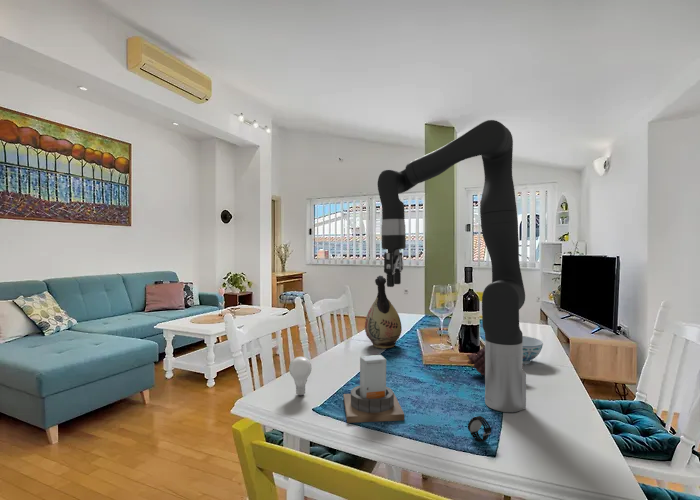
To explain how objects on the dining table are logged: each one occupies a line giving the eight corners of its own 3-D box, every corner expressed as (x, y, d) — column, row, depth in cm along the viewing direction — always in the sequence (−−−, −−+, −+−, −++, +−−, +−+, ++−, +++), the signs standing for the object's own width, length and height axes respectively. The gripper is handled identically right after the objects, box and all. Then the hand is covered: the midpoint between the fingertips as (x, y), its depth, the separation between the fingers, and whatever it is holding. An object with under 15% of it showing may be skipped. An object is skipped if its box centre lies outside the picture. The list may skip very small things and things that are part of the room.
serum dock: (393, 397, 108) (393, 381, 108) (404, 420, 94) (404, 401, 94) (343, 399, 107) (343, 383, 106) (347, 422, 93) (347, 404, 92)
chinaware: (498, 365, 135) (498, 343, 135) (497, 353, 149) (497, 334, 149) (546, 369, 130) (546, 347, 130) (539, 357, 144) (539, 336, 144)
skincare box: (364, 408, 97) (364, 360, 97) (359, 401, 101) (359, 356, 101) (386, 405, 99) (386, 358, 99) (381, 398, 103) (381, 354, 103)
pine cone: (525, 377, 123) (525, 346, 123) (520, 387, 114) (520, 354, 114) (469, 368, 132) (469, 339, 132) (461, 376, 124) (461, 345, 124)
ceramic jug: (364, 341, 170) (364, 273, 169) (399, 341, 169) (399, 273, 169) (364, 352, 153) (364, 276, 152) (403, 352, 152) (403, 276, 152)
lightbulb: (284, 397, 108) (284, 358, 108) (298, 389, 114) (297, 352, 114) (303, 401, 105) (303, 361, 105) (316, 393, 111) (315, 355, 111)
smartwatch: (483, 434, 86) (483, 412, 86) (492, 446, 81) (492, 423, 81) (465, 435, 86) (465, 413, 86) (473, 447, 81) (473, 423, 81)
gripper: (399, 233, 113) (400, 288, 113) (409, 234, 127) (410, 283, 127) (375, 233, 116) (376, 287, 116) (387, 234, 129) (388, 283, 129)
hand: (394, 285), depth 121 cm, fingers open, 8 cm apart
